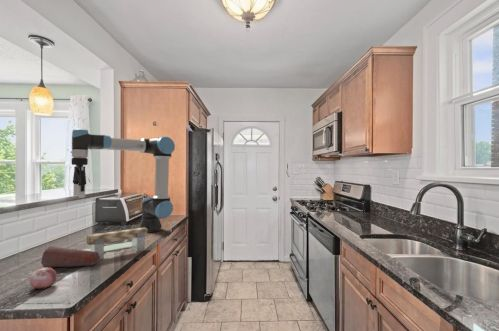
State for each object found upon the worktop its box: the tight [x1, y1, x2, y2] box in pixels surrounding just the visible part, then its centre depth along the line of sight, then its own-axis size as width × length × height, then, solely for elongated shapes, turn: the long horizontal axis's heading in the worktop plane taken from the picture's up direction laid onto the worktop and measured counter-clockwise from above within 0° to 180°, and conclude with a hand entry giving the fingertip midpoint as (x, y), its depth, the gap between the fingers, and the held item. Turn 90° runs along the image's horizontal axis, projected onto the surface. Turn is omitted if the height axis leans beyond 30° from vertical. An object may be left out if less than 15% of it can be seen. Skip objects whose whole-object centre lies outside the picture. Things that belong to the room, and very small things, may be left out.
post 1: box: [89, 238, 105, 260], centre depth 135 cm, size 4×7×10 cm, turn 44°
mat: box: [83, 241, 132, 253], centre depth 150 cm, size 32×10×1 cm, turn 133°
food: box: [40, 245, 101, 269], centre depth 124 cm, size 21×9×9 cm, turn 101°
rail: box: [86, 227, 148, 246], centre depth 142 cm, size 28×4×4 cm, turn 133°
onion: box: [29, 267, 58, 290], centre depth 101 cm, size 8×8×7 cm
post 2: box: [131, 232, 146, 253], centre depth 149 cm, size 4×7×10 cm, turn 44°
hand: (79, 196), depth 152 cm, fingers open, 13 cm apart
